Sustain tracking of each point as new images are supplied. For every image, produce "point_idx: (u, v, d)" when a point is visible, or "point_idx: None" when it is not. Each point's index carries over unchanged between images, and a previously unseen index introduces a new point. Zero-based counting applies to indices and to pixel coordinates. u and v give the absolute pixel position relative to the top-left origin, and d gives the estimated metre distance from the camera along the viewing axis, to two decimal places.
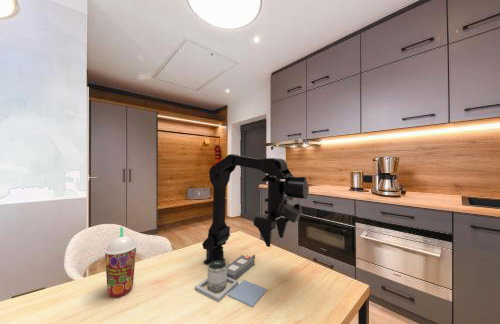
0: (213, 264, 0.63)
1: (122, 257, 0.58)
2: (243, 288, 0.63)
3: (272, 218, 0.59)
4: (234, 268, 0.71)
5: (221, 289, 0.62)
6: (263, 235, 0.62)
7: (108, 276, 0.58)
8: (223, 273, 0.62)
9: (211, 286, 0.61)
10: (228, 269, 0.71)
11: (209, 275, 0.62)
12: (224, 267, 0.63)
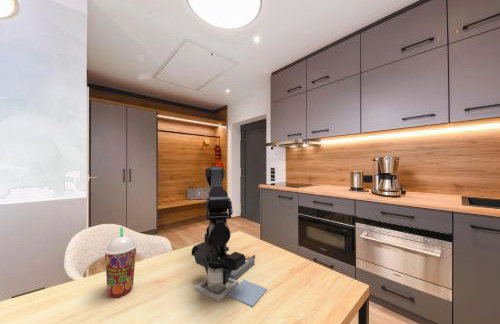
0: (213, 264, 0.63)
1: (122, 257, 0.58)
2: (243, 288, 0.63)
3: (197, 248, 0.66)
4: None
5: (221, 289, 0.62)
6: None
7: (108, 276, 0.58)
8: None
9: (211, 286, 0.61)
10: None
11: (209, 275, 0.62)
12: None
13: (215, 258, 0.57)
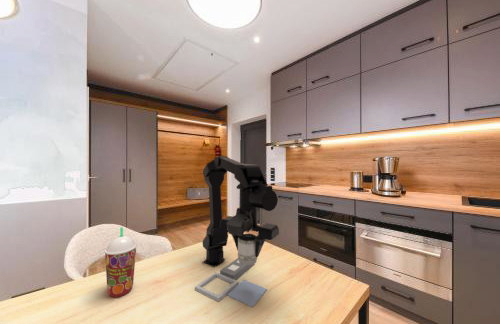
0: (244, 236, 0.61)
1: (122, 257, 0.58)
2: (243, 288, 0.63)
3: (226, 221, 0.63)
4: (234, 268, 0.71)
5: (253, 262, 0.59)
6: None
7: (108, 276, 0.58)
8: (255, 245, 0.59)
9: (242, 259, 0.59)
10: (228, 269, 0.71)
11: (241, 247, 0.59)
12: None
13: (250, 227, 0.54)
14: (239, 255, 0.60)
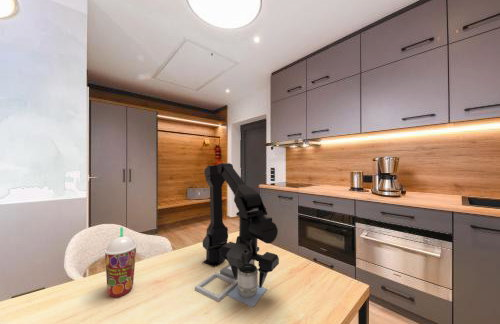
0: (244, 267, 0.61)
1: (122, 257, 0.58)
2: None
3: (226, 248, 0.63)
4: None
5: (253, 294, 0.59)
6: None
7: (108, 276, 0.58)
8: (255, 277, 0.59)
9: (242, 291, 0.59)
10: (228, 269, 0.71)
11: (241, 280, 0.59)
12: (255, 271, 0.60)
13: (250, 259, 0.54)
14: (239, 287, 0.60)
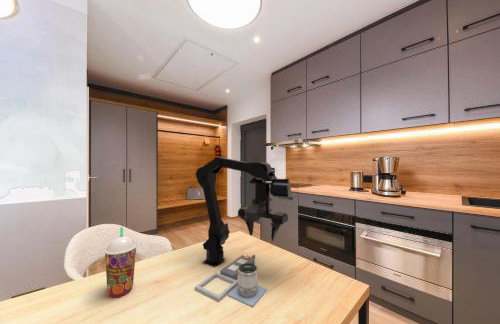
0: (244, 267, 0.61)
1: (122, 257, 0.58)
2: None
3: (243, 210, 0.75)
4: (234, 268, 0.71)
5: (253, 294, 0.59)
6: None
7: (108, 276, 0.58)
8: (255, 277, 0.59)
9: (242, 291, 0.59)
10: (228, 269, 0.71)
11: (241, 280, 0.59)
12: (255, 271, 0.60)
13: (264, 213, 0.66)
14: (239, 287, 0.60)
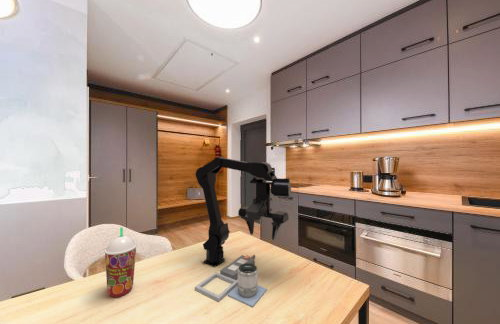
0: (244, 267, 0.61)
1: (122, 257, 0.58)
2: None
3: (244, 209, 0.75)
4: (234, 268, 0.71)
5: (253, 294, 0.59)
6: None
7: (108, 276, 0.58)
8: (255, 277, 0.59)
9: (242, 291, 0.59)
10: (228, 269, 0.71)
11: (241, 280, 0.59)
12: (255, 271, 0.60)
13: (265, 213, 0.66)
14: (239, 287, 0.60)
